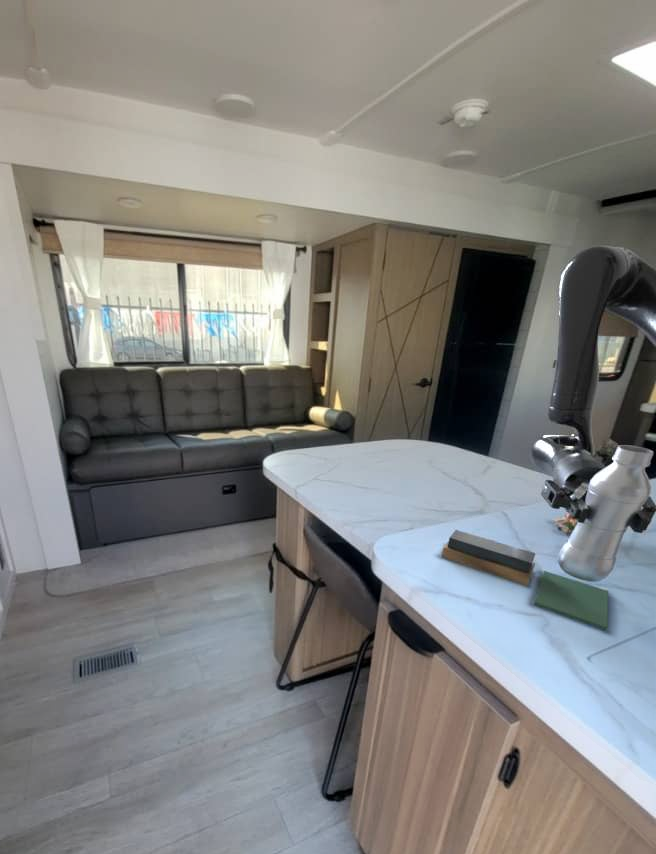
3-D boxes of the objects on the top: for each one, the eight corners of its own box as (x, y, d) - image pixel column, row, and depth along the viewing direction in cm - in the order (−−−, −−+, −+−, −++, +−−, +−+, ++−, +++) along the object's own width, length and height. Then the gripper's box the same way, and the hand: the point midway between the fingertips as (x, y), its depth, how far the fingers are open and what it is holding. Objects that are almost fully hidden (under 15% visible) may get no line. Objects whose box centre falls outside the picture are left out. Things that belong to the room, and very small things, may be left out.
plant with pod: (619, 545, 80) (665, 447, 71) (553, 533, 84) (589, 438, 75) (607, 527, 87) (647, 436, 78) (546, 517, 90) (578, 428, 82)
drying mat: (606, 593, 65) (608, 590, 65) (605, 630, 57) (607, 627, 57) (542, 573, 70) (543, 570, 70) (533, 604, 62) (534, 601, 62)
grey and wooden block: (532, 572, 70) (539, 553, 69) (527, 586, 67) (535, 565, 65) (449, 546, 78) (453, 527, 76) (441, 556, 74) (445, 537, 72)
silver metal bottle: (557, 557, 66) (606, 438, 57) (608, 574, 62) (669, 449, 53) (549, 574, 62) (600, 448, 53) (603, 593, 58) (669, 461, 49)
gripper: (540, 452, 70) (560, 487, 56) (642, 465, 65) (692, 507, 51) (527, 492, 73) (543, 534, 59) (623, 507, 69) (665, 557, 55)
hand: (612, 521), depth 55 cm, fingers closed on silver metal bottle, 6 cm apart
